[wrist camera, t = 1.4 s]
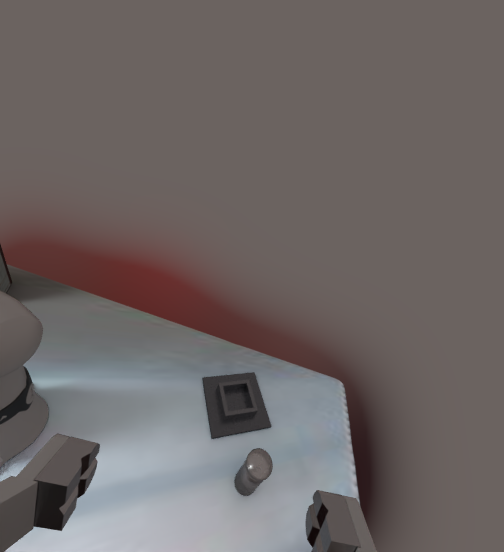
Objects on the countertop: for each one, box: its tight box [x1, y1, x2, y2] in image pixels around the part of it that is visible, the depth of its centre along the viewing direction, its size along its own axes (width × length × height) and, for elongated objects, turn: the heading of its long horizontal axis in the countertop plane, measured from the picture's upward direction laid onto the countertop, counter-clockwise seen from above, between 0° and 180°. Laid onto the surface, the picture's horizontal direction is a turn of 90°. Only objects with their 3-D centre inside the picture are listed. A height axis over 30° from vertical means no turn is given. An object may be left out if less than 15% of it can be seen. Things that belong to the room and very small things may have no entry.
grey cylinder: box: [234, 448, 273, 496], centre depth 56 cm, size 5×5×11 cm
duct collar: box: [203, 373, 271, 439], centre depth 72 cm, size 16×16×3 cm
